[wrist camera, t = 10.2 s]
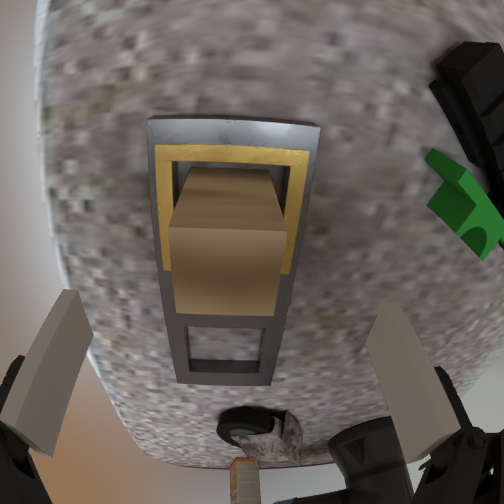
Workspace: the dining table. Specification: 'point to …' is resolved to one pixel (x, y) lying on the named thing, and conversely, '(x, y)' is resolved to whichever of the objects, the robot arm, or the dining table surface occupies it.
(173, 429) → the dining table surface
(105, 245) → the dining table surface
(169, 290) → the rail plate
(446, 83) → the rail mount
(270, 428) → the caster wheel
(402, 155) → the dining table surface
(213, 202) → the oak peg
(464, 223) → the pipe clamp
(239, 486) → the supplement box
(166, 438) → the dining table surface
